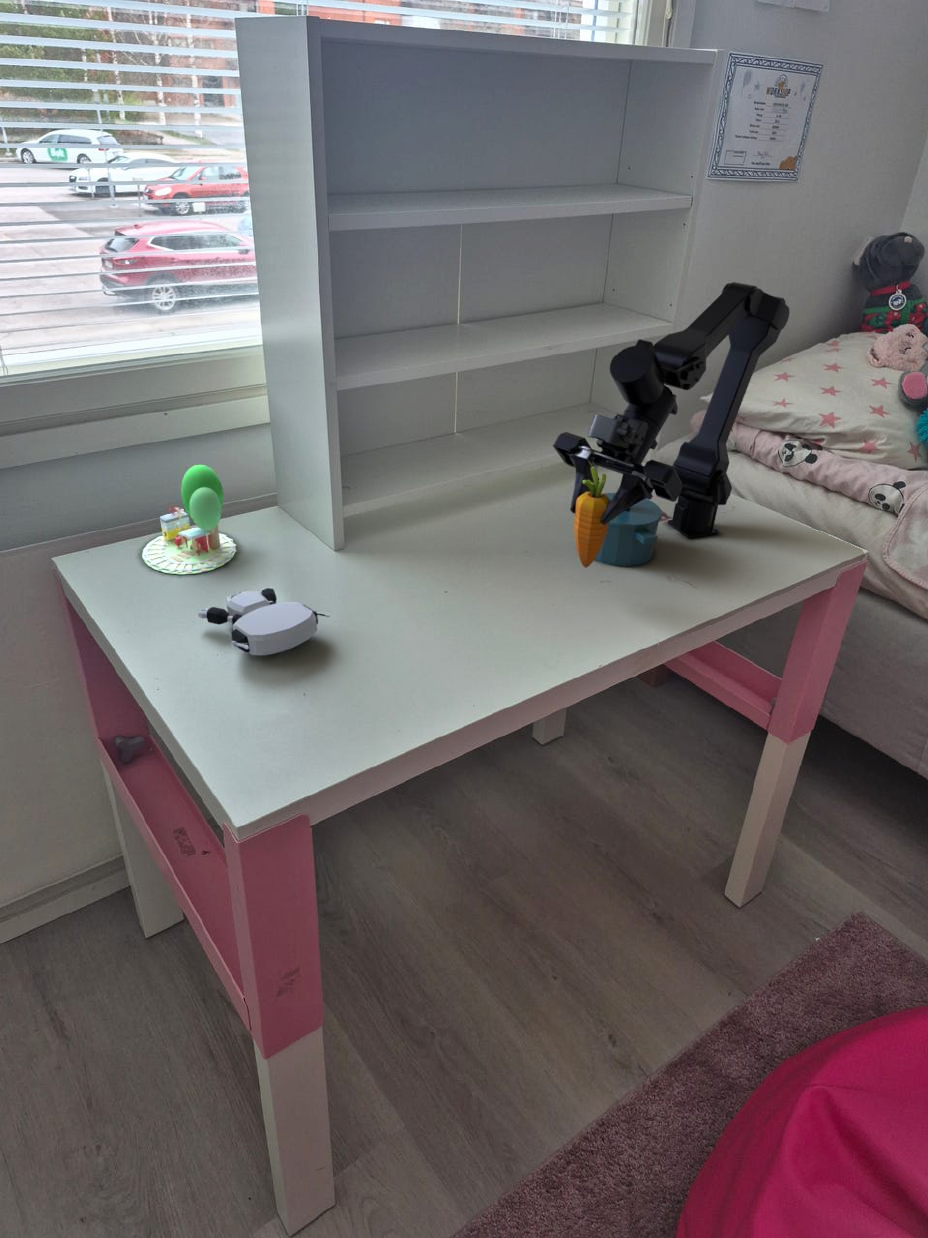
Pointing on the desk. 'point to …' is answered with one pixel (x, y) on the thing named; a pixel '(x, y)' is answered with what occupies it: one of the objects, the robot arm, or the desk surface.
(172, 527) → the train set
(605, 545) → the pot
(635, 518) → the pot lid
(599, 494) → the carrot
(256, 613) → the robot toy
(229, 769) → the desk surface
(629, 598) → the desk surface
